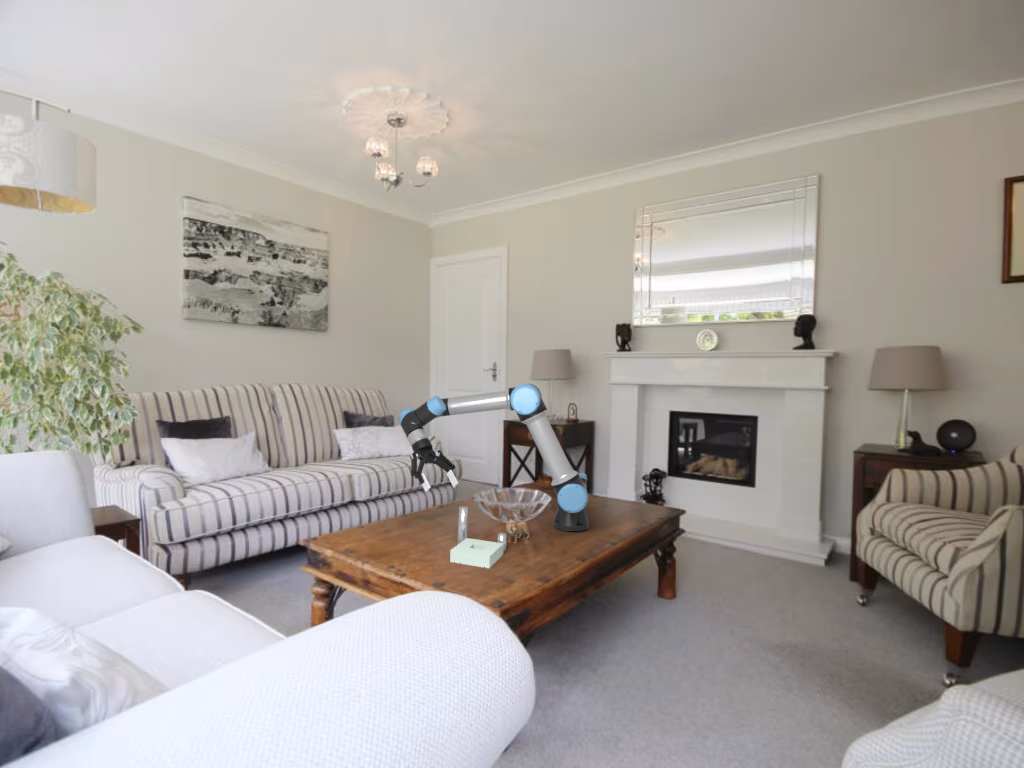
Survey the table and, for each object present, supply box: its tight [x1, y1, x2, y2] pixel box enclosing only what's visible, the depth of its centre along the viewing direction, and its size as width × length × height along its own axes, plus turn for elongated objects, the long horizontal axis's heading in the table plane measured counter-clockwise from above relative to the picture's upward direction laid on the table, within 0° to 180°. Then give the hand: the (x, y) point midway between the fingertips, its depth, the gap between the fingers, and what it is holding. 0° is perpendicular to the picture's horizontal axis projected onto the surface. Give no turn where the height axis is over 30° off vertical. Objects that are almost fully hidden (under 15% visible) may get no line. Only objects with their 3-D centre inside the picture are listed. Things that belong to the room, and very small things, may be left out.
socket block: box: [449, 537, 504, 569], centre depth 182 cm, size 14×14×4 cm
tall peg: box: [457, 505, 469, 545], centre depth 194 cm, size 3×3×14 cm
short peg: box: [497, 532, 508, 553], centre depth 191 cm, size 3×3×6 cm
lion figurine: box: [505, 520, 530, 544], centre depth 203 cm, size 15×5×9 cm, turn 151°
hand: (442, 487), depth 202 cm, fingers open, 13 cm apart
